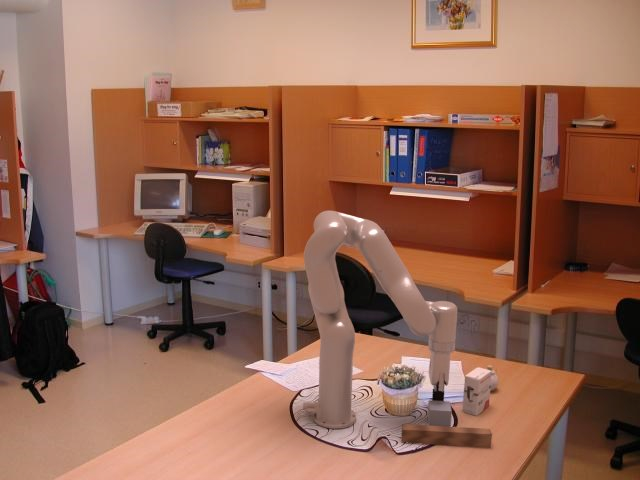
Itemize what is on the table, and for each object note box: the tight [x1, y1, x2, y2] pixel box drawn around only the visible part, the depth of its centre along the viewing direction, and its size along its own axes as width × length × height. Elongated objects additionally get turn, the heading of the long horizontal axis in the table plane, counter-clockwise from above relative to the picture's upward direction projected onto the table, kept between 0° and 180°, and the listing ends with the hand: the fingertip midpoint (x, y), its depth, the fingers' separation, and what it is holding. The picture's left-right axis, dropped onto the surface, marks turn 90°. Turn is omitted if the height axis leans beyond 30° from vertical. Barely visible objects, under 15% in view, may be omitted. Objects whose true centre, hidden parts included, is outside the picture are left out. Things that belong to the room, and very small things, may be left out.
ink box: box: [461, 367, 492, 417], centre depth 216 cm, size 9×5×12 cm, turn 141°
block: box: [427, 399, 453, 427], centre depth 207 cm, size 6×6×6 cm
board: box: [401, 423, 493, 449], centre depth 198 cm, size 24×3×4 cm, turn 86°
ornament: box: [486, 363, 499, 392], centre depth 229 cm, size 6×7×10 cm
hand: (437, 402), depth 212 cm, fingers closed
